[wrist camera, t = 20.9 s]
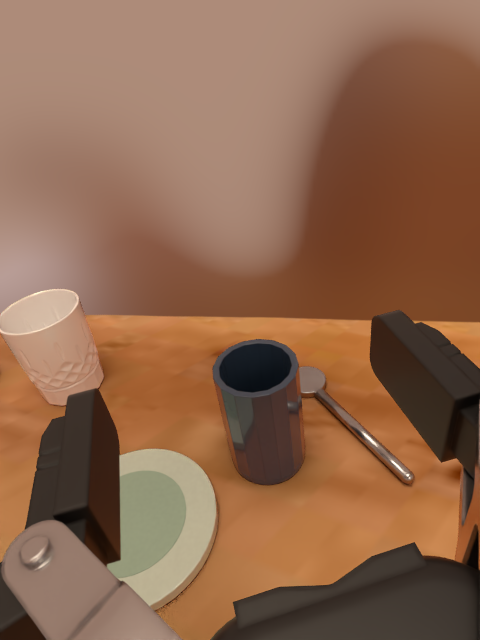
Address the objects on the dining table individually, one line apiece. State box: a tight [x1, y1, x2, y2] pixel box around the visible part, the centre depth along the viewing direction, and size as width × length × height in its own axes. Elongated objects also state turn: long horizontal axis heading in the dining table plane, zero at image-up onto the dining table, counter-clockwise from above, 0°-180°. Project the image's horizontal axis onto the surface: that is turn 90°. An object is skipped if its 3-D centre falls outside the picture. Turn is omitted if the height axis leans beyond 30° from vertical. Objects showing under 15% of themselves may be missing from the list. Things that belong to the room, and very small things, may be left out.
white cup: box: [0, 289, 104, 406], centre depth 45 cm, size 8×8×10 cm
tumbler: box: [213, 339, 305, 485], centre depth 34 cm, size 6×6×10 cm
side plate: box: [107, 449, 218, 611], centre depth 33 cm, size 13×13×1 cm
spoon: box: [299, 366, 414, 484], centre depth 39 cm, size 4×16×1 cm, turn 29°
